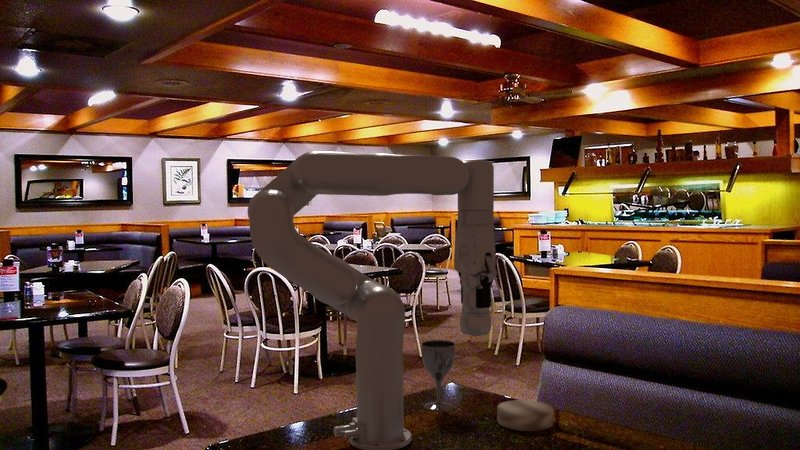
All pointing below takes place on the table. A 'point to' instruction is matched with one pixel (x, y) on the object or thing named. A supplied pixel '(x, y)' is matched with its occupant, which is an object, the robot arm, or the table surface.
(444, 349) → the wine glass
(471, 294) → the plastic bottle
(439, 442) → the table surface
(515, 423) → the pedestal
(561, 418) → the table surface
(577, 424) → the table surface
